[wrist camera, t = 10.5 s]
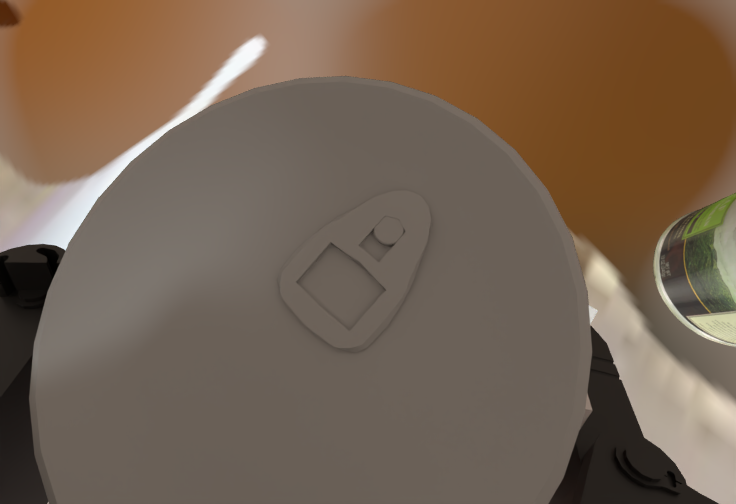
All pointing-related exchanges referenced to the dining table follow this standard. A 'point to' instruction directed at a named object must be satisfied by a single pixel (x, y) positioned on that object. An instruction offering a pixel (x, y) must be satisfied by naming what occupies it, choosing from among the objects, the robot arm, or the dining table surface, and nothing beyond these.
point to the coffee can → (701, 270)
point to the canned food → (315, 313)
